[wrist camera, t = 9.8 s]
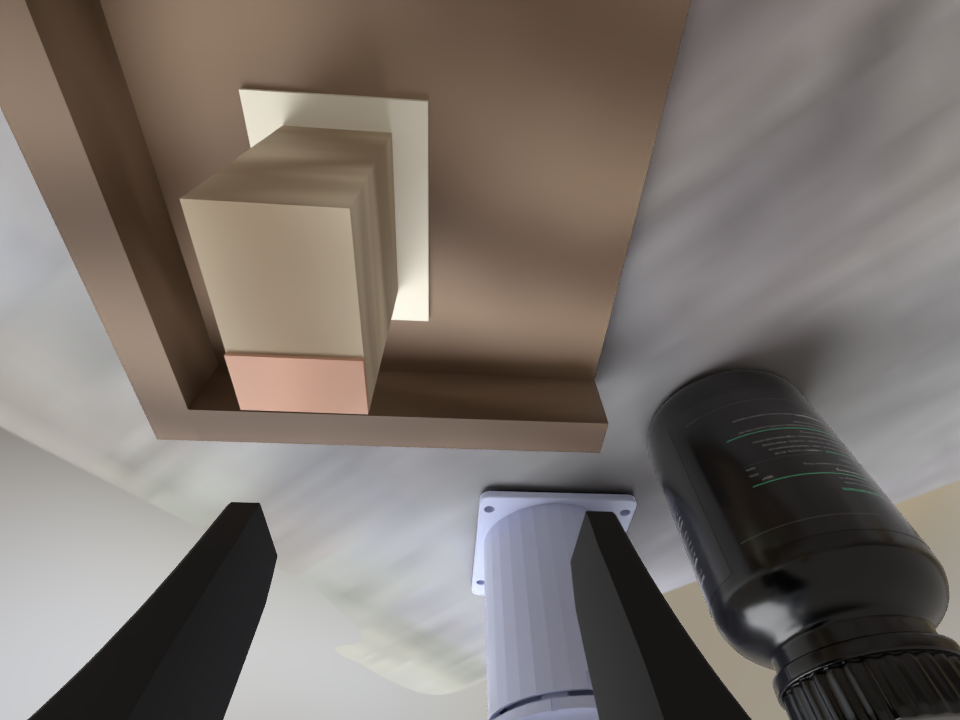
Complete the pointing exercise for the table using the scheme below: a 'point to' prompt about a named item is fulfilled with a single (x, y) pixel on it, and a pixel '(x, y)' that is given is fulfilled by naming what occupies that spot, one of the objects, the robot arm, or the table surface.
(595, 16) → the corner board
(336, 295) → the maple block
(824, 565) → the supplement bottle
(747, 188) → the table surface
